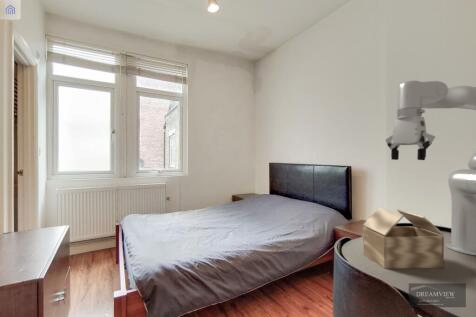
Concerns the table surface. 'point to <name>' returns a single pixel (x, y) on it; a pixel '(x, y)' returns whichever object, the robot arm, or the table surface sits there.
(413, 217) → the flap
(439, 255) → the carton
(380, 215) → the flap
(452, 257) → the table surface
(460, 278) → the table surface
